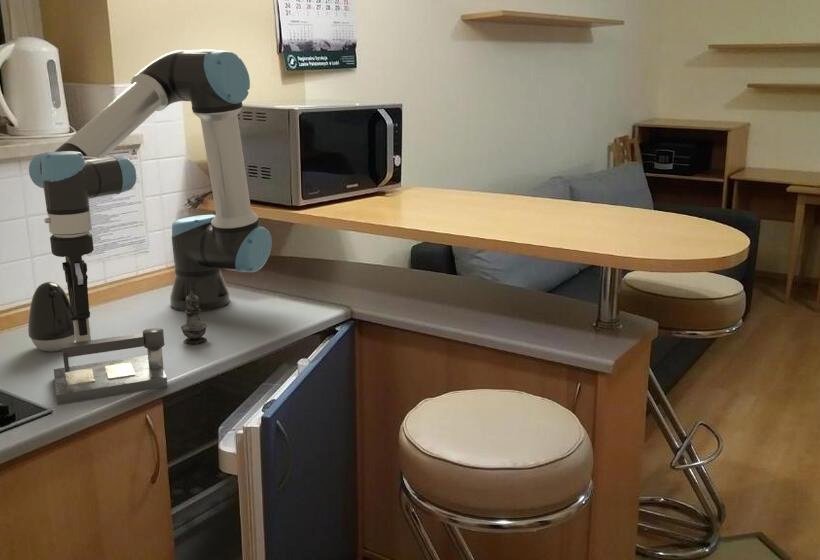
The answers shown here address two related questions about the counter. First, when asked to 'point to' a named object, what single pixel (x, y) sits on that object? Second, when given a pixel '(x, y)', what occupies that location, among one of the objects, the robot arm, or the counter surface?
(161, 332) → the lever
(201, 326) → the grey chess piece
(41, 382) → the counter surface
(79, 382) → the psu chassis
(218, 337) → the counter surface
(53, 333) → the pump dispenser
